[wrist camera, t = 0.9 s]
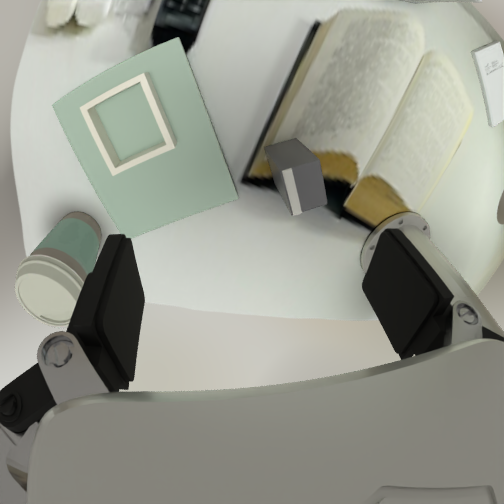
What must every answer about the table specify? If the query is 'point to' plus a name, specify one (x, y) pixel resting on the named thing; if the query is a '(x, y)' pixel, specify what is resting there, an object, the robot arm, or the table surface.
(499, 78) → the external hard drive
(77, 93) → the board
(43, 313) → the coffee cup
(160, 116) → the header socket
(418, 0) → the light bulb box
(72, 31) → the table surface
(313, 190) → the plug
